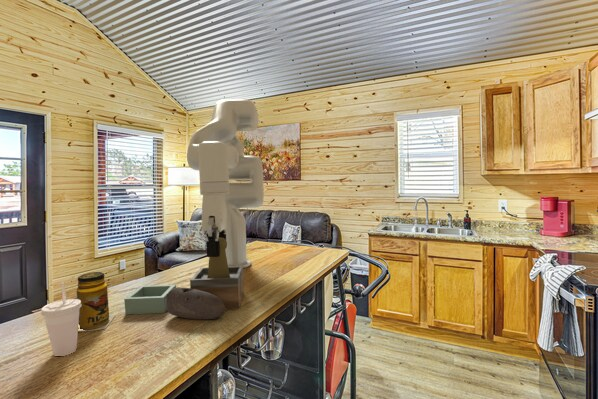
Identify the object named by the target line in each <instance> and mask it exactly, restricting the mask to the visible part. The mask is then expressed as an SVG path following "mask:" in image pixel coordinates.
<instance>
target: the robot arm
mask: <svg viewBox="0 0 598 399" xmlns="http://www.w3.org/2000/svg"><path fill="white" fill-rule="evenodd" d="M211 114H212V115H211V119H210V122H209V123H207V124H206V125H204V126H202V127H200V128H199V129H198V130H196V131H195V132H194V133H193V134H192V136H191V137H190V140H189V143H188V147H187V151H186V152H187V153H186V161H187V164H188V166H189V168H191V170H194V171H199V193H200V194H199V195H200V196H202V202H201V203H202V205H201V231H202V233H204V234H205V235H206V241H205V242H206V243H205V244H206V257H207V258H209V257H219V256H220V241H218V237H221V238H225V239H226V241H227V248H226V249H225V251H226V257H227V263H228V267H234V266H243V269H245V268H247V267H249V266H251V265H252V260H251V259H248V258H247V257H248V255H247V254H248V252H247V230H246V229H247V227H246V225H247V224H246V217H245V216H244V214H243V213H242V211H241V210H239V209H243V208H244V209H247V208H252V209H253V208H259V207H261V206H262V205H263V203H264V200H265V198H264V169H263V168H264V167H263V162H262V160H261V158H260V157H259V156H257V155H244V144H243V143H242V140H241V139H240V138H239V137H238V136H237V132H254V131H256V130H257V128H258V126H259V115H258V110H257V106H256V105H255V103H254V102H253V101H252V100H250V99H247V98H246V99H245V98H244V99H240V98H239V99H236V98H235V99H234V98H233V99H229V98H228V99H221V100H218V101H217V102H216V103H215V104H214V107H213V111H212V113H211ZM230 181H250V182H230Z"/></svg>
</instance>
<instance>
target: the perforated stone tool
mask: <svg viewBox="0 0 598 399" xmlns="http://www.w3.org/2000/svg"><path fill="white" fill-rule="evenodd" d="M166 308H167V310H166V311H167V312H168V314H170V315H172V316H174V317H177V318H182V319H191V320H192V319H194V320H214V319H219V318H221V317H222V316H223V315H224V314H225V313H226V310H225V306H224V303H223V302H222V300H221V299H220V298H218V297H217V296H215V295H213V294H211V293H208V292H204V291H201V290H197V289H191V288H190V287H178V286H176V288H174V289H171V290H170V291H169V292H168V293H167V295H166Z"/></svg>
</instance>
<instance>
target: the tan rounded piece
mask: <svg viewBox="0 0 598 399" xmlns="http://www.w3.org/2000/svg"><path fill="white" fill-rule="evenodd" d="M218 241H220V256H219V257H208V276H207V279H209V278H230V274H229V269H228V263H227V257H226V251H225V249H226V248H227V241H226V239H225V238H221V237H218Z"/></svg>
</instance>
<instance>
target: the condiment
mask: <svg viewBox="0 0 598 399" xmlns="http://www.w3.org/2000/svg"><path fill="white" fill-rule="evenodd" d="M77 281H78V282H77V288H76V299H79V300H81V307H80V309H79V325H80V329H83V330H88V331H87V332H91V331H93V332H94V331H98V330H99V331H100V330H105V329H106V328H107V327H108V326H109V325H110V324H111V322H112V321H113V319H114V318H115V317H116V314H113V315H110V309H109V297H108V296H109V294H108V284H107V283H106V278H105V274H104V272H102V271H101V272H100V271H95V272H94V271H92V272H87V273H84V274H81V275H79V276H78V277H77ZM79 332H80V333H81V332H83V331H78V333H79Z"/></svg>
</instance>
